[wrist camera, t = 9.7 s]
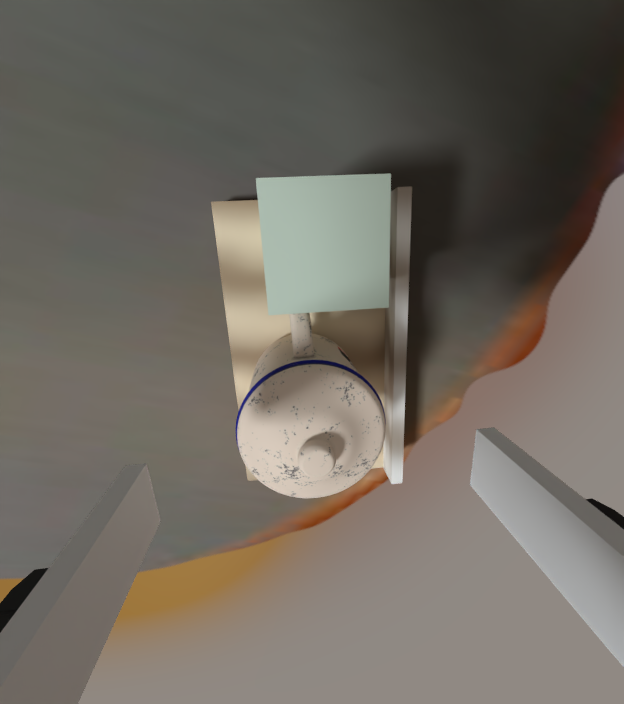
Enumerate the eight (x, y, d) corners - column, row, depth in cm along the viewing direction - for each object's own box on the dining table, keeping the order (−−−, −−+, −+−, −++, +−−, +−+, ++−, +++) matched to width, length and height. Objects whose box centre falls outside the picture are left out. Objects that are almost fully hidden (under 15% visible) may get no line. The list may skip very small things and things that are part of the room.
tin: (267, 213, 23) (255, 178, 13) (349, 210, 23) (394, 173, 14) (274, 295, 25) (268, 315, 15) (350, 290, 25) (391, 307, 16)
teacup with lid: (357, 420, 28) (405, 523, 17) (258, 433, 28) (240, 546, 17) (351, 288, 25) (405, 309, 14) (237, 299, 25) (198, 330, 13)
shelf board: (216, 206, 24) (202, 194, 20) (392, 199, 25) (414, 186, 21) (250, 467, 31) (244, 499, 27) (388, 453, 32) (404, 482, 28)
